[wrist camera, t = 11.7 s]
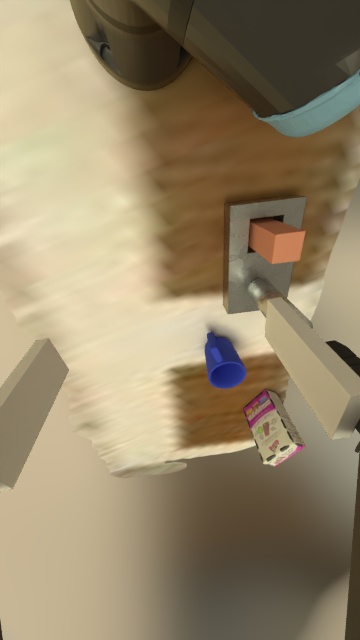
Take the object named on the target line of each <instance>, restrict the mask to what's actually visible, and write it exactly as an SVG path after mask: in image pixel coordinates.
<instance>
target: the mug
mask: <svg viewBox="0 0 360 640" xmlns="http://www.w3.org/2000/svg"><path fill="white" fill-rule="evenodd" d="M207 338H208V343H207V344H206V346H205V357H206V364H207V372H208V379H209V382H210V383H211V384H212V385H213V386H215V387H217V388H231V387H234V386H236V385H238V384H239V383H241V382H242V381H243V380H244V378H245V376H246V368H245V366H244V365H243V363H242V361H241V359H240V358H239V356H238V354H237V352H236V350H235V349H234V347H233V345H232V343H231V342H230V341H229V340H228V339H226V338H223V337H216V338H215V336H214V334H213V333H212V332H210V333H208V334H207Z"/></svg>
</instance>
